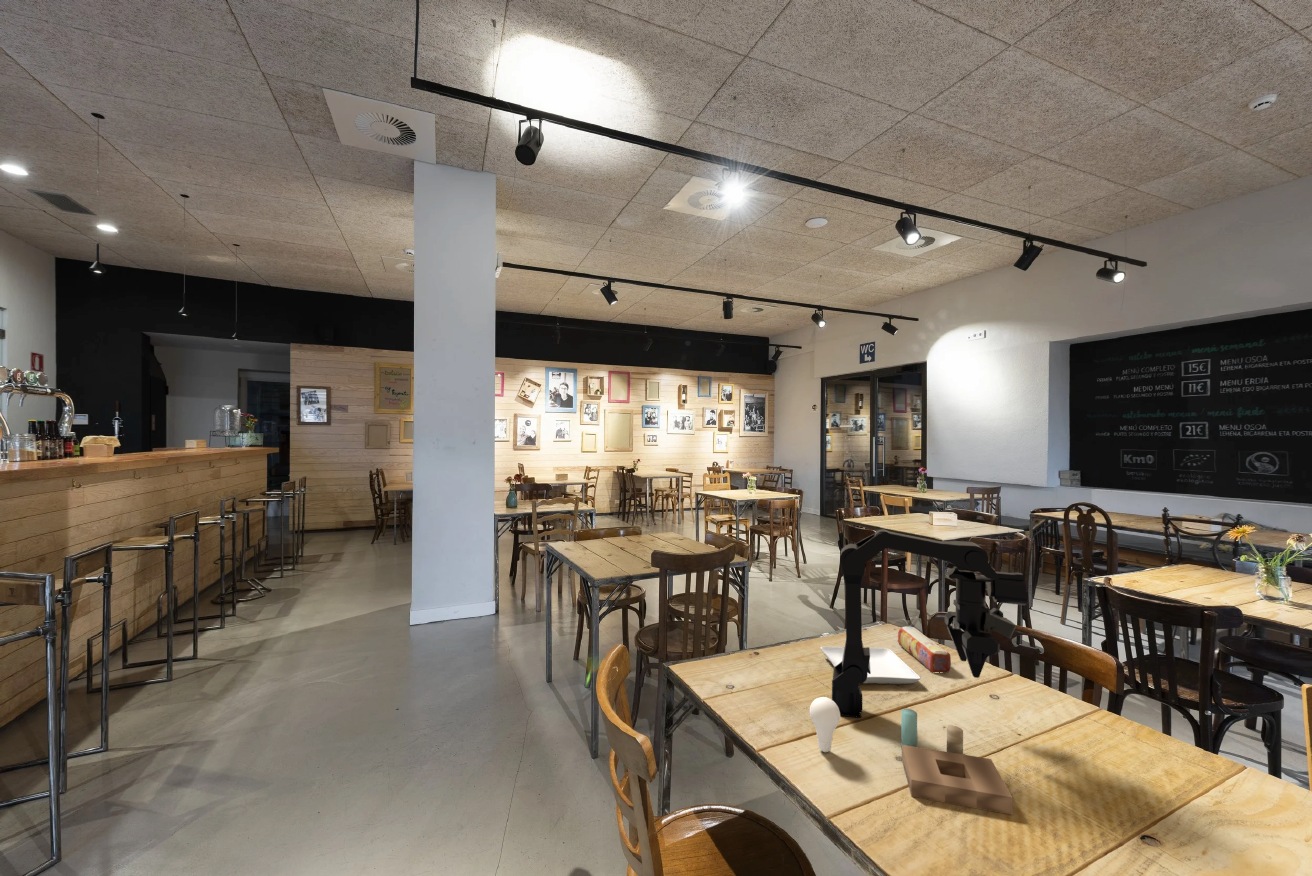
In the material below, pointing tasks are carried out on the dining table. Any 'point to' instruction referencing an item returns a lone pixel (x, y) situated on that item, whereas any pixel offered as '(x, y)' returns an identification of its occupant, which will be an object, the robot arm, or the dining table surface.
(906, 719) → the long teal pin
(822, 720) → the lightbulb
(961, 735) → the short beech pin
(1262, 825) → the dining table surface
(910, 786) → the walnut hole block
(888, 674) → the salad plate
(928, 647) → the snack package
